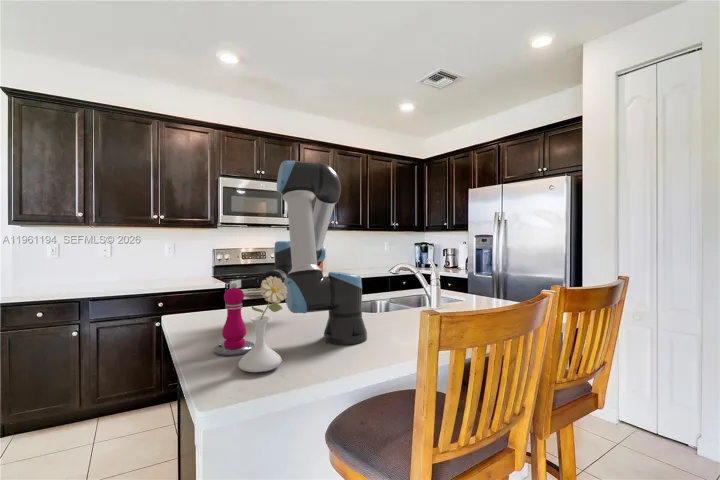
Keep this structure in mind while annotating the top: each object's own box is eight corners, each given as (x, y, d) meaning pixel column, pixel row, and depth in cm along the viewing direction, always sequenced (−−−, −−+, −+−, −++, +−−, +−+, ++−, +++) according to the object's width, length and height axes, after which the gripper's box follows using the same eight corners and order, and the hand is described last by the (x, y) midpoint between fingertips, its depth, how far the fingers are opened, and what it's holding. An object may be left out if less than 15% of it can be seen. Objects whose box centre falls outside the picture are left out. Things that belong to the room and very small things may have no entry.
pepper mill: (230, 342, 117) (229, 281, 116) (250, 343, 116) (250, 281, 115) (217, 349, 110) (216, 284, 109) (239, 350, 108) (238, 285, 108)
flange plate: (260, 345, 117) (260, 340, 117) (242, 357, 106) (242, 352, 106) (227, 343, 119) (227, 338, 119) (205, 355, 108) (205, 349, 108)
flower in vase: (240, 379, 89) (239, 280, 89) (236, 364, 100) (235, 275, 99) (291, 371, 94) (291, 277, 94) (283, 358, 105) (282, 273, 105)
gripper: (303, 289, 141) (283, 296, 120) (245, 288, 146) (215, 296, 125) (303, 270, 141) (282, 274, 120) (245, 270, 146) (215, 274, 125)
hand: (248, 285), depth 123 cm, fingers open, 13 cm apart
